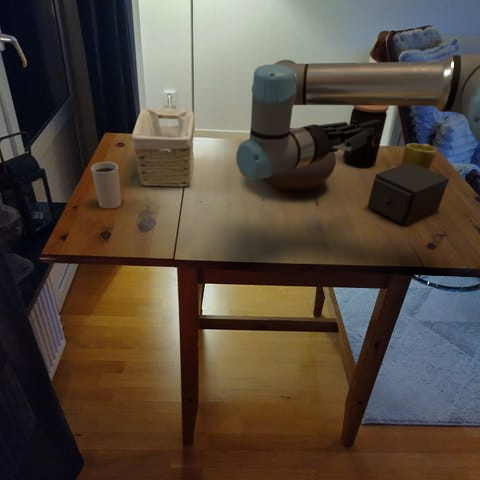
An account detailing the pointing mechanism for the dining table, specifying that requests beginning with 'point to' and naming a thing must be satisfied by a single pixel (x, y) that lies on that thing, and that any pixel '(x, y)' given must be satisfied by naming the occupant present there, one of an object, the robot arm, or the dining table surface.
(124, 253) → the dining table surface
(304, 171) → the flattened ellipsoid
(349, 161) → the coffee jar
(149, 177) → the basket
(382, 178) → the cabinet
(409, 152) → the mug
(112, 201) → the white coffee cup
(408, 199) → the drawer
